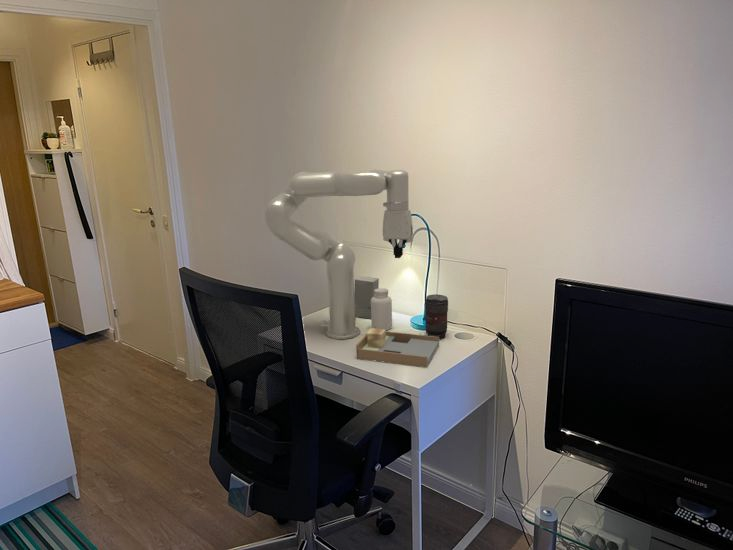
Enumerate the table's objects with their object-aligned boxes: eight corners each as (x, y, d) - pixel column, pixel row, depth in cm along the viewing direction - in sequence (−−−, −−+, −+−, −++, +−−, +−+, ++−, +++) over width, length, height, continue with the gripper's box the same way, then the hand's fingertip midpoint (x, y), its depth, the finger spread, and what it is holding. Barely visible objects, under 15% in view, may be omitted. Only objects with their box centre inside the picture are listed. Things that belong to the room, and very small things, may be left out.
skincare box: (353, 317, 228) (352, 279, 223) (360, 311, 234) (359, 275, 230) (373, 319, 224) (372, 281, 220) (379, 314, 231) (379, 276, 226)
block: (367, 346, 193) (367, 333, 191) (372, 341, 197) (371, 328, 196) (381, 348, 191) (381, 334, 190) (385, 342, 196) (385, 329, 194)
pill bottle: (382, 322, 221) (381, 285, 217) (396, 327, 215) (396, 289, 211) (367, 327, 216) (366, 290, 212) (381, 332, 210) (380, 294, 206)
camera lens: (446, 340, 201) (447, 301, 197) (424, 339, 203) (424, 300, 199) (448, 332, 209) (448, 294, 205) (426, 331, 210) (426, 293, 206)
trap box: (356, 358, 188) (356, 344, 187) (374, 339, 205) (373, 326, 203) (426, 367, 180) (426, 352, 179) (439, 346, 197) (439, 332, 195)
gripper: (374, 207, 196) (375, 258, 201) (415, 208, 191) (415, 261, 196) (380, 204, 203) (381, 253, 208) (421, 205, 198) (421, 256, 203)
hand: (398, 257), depth 202 cm, fingers closed
